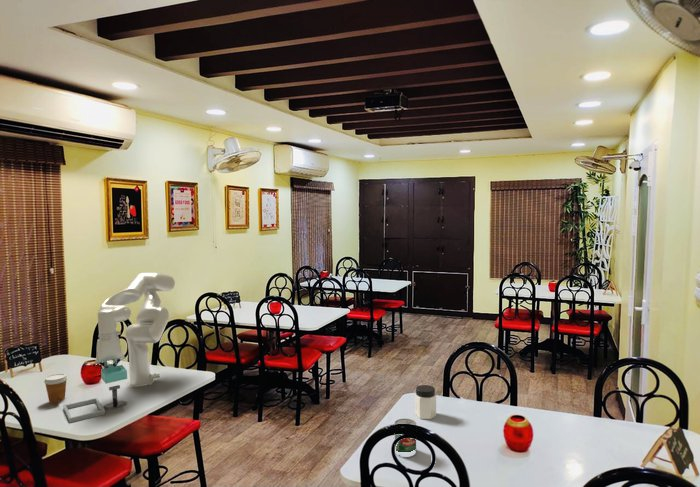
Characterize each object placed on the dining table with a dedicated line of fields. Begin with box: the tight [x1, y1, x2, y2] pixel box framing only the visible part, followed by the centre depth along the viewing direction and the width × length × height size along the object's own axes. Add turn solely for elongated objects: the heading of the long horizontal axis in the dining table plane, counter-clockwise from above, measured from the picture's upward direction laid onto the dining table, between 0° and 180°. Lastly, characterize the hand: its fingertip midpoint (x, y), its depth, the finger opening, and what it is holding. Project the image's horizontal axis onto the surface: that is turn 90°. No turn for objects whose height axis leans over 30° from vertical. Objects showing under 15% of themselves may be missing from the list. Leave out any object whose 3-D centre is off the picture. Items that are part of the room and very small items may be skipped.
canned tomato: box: [394, 418, 417, 452], centre depth 181 cm, size 8×8×11 cm
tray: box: [63, 397, 106, 424], centre depth 218 cm, size 14×18×3 cm
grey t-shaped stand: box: [103, 384, 128, 411], centre depth 225 cm, size 10×10×10 cm
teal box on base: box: [100, 363, 128, 385], centre depth 227 cm, size 9×14×4 cm, turn 37°
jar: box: [414, 384, 437, 420], centre depth 211 cm, size 9×8×12 cm
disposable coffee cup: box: [43, 373, 68, 405], centre depth 233 cm, size 10×10×12 cm
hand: (110, 373), depth 230 cm, fingers closed on teal box on base, 2 cm apart
